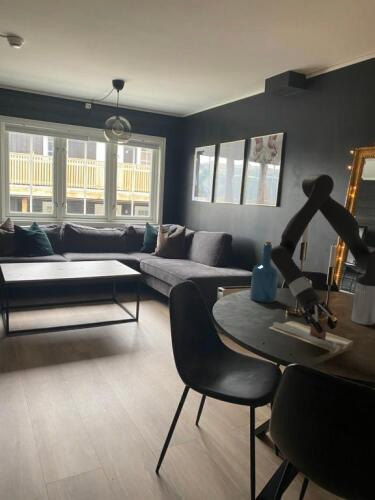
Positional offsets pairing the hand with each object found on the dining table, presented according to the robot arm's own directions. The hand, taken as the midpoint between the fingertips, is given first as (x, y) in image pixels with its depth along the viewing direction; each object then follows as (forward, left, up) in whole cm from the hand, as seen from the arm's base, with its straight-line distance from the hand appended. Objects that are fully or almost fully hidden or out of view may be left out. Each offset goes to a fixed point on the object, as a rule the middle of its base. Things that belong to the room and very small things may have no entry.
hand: (328, 330), depth 136 cm
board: (-2, -8, -6) cm, 10 cm away
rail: (+3, -8, -4) cm, 10 cm away
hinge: (-61, -48, -6) cm, 78 cm away
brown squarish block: (0, -4, -4) cm, 6 cm away
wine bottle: (-30, -52, -6) cm, 60 cm away
